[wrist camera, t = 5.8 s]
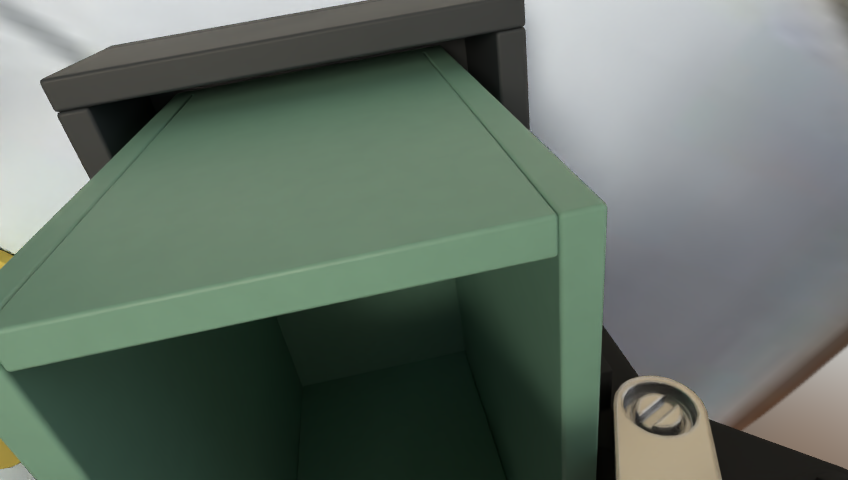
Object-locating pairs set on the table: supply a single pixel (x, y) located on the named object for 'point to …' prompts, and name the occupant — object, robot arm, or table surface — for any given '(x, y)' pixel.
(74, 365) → the box
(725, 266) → the table surface
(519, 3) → the bottom bin
